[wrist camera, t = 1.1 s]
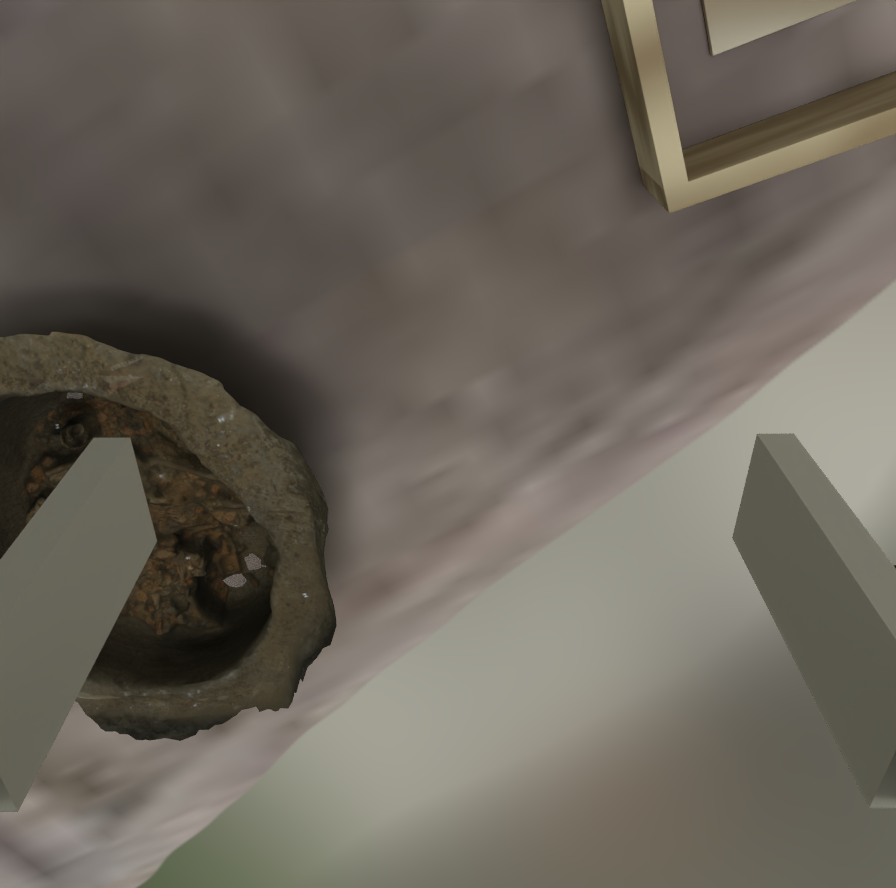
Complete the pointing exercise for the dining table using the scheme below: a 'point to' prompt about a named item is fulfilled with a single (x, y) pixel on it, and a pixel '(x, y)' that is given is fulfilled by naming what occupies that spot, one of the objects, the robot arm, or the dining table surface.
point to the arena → (746, 149)
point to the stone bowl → (176, 532)
